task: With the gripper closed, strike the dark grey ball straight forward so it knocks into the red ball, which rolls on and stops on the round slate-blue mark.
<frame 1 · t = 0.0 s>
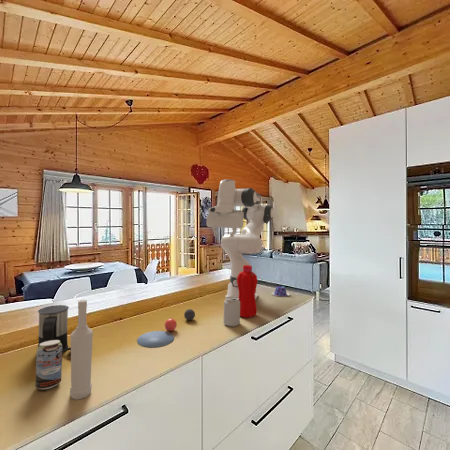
hand: (223, 236, 138), 39 cm above the countertop, tool pointing down, fingers open, 8 cm apart
dark grey ball: (189, 314, 126), on the countertop
water bottle: (247, 315, 134), on the countertop
beverage can: (48, 385, 75), on the countertop
can: (231, 324, 122), on the countertop
bottle: (80, 394, 72), on the countertop
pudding: (280, 295, 174), on the countertop
milk frother: (65, 351, 94), on the countertop
object ball: (170, 324, 113), on the countertop
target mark: (155, 338, 105), on the countertop
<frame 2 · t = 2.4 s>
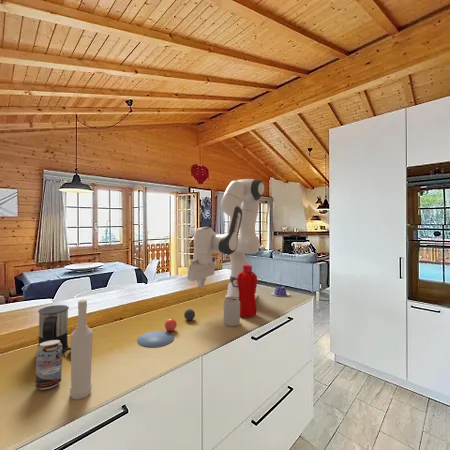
hand: (201, 286, 134), 14 cm above the countertop, tool pointing down, fingers closed
nothing on the countertop moved.
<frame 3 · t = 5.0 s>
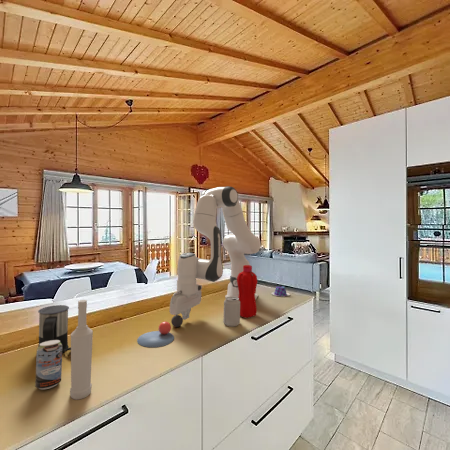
hand: (185, 318, 123), 2 cm above the countertop, tool pointing down, fingers closed
dark grey ball: (177, 321, 118), on the countertop
object ball: (164, 328, 110), on the countertop
everything else where it was.
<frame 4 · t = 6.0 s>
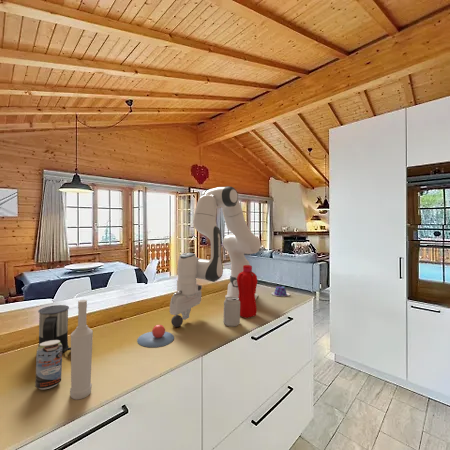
hand: (185, 318, 123), 2 cm above the countertop, tool pointing down, fingers closed
object ball: (158, 331, 106), on the countertop
everything else where it was.
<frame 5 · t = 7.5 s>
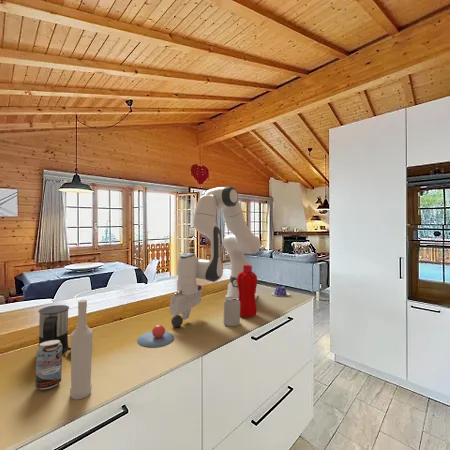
hand: (185, 318, 123), 2 cm above the countertop, tool pointing down, fingers closed
nothing on the countertop moved.
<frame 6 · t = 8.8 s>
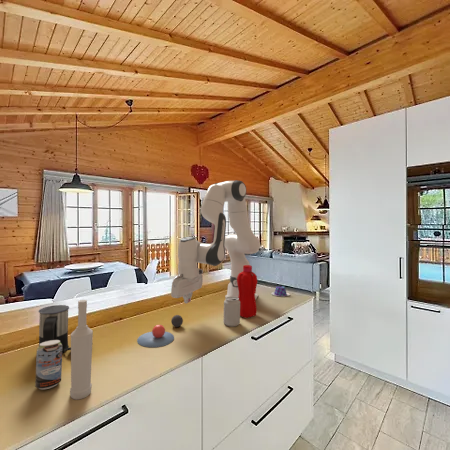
hand: (187, 302, 123), 9 cm above the countertop, tool pointing down, fingers closed
nothing on the countertop moved.
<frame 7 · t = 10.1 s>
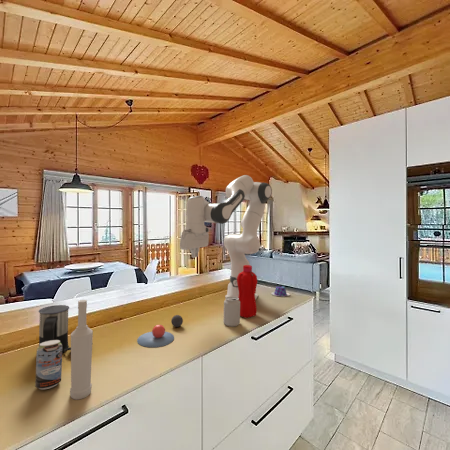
hand: (194, 257, 131), 29 cm above the countertop, tool pointing down, fingers closed
nothing on the countertop moved.
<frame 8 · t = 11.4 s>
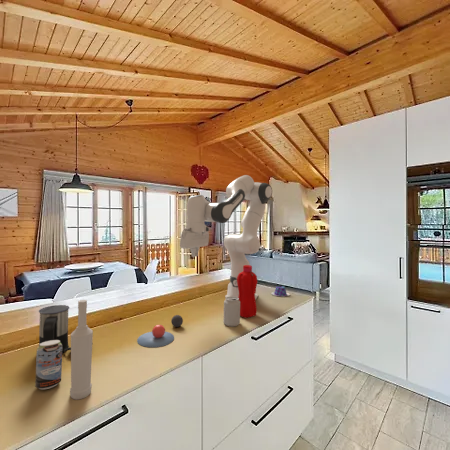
hand: (194, 256, 131), 29 cm above the countertop, tool pointing down, fingers closed
nothing on the countertop moved.
at the end: object ball 1.4 cm from the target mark (horizontally); object ball never touched the robot; dark grey ball first touched object ball at 4.6 s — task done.
